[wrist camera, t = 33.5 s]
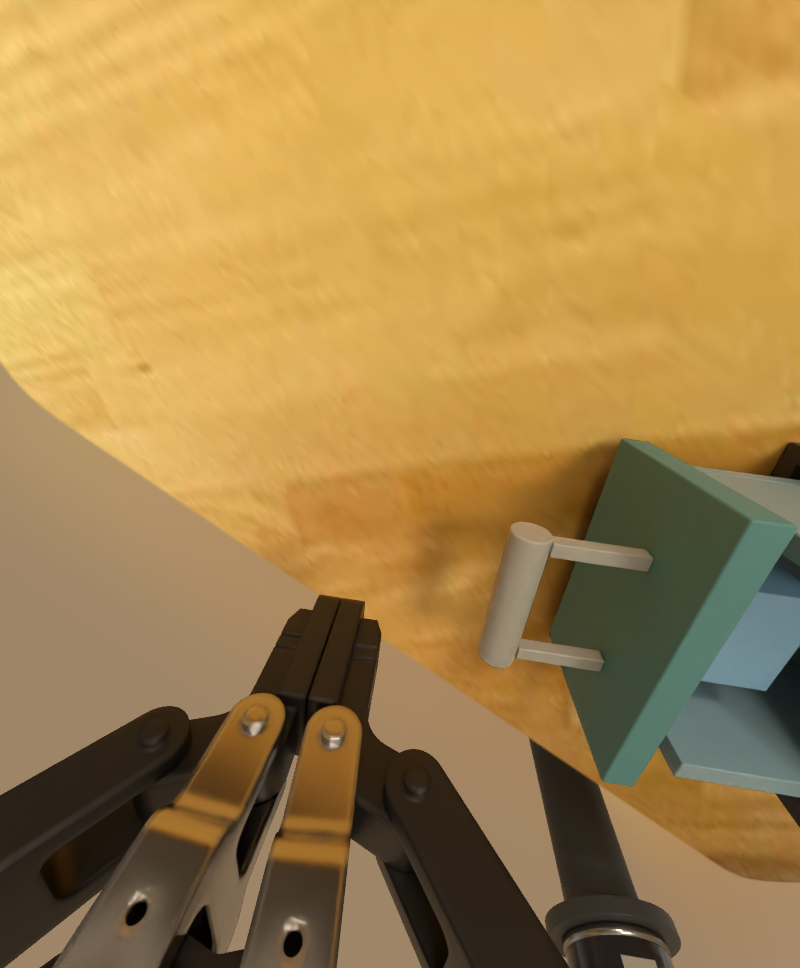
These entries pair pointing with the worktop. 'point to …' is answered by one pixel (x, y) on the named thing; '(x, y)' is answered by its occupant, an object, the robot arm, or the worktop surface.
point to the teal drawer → (663, 619)
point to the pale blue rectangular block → (761, 636)
